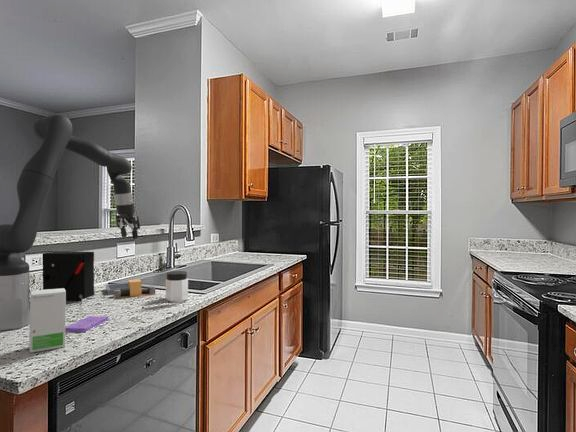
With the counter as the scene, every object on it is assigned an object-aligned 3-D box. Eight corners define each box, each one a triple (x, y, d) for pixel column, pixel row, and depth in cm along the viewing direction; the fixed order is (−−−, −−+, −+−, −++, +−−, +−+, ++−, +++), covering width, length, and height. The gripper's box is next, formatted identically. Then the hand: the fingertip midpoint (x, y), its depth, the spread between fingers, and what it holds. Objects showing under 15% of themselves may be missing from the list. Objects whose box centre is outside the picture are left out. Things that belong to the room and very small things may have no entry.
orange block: (141, 295, 152) (141, 281, 152) (130, 296, 150) (130, 282, 150) (139, 292, 157) (139, 279, 157) (128, 293, 154) (128, 280, 154)
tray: (137, 294, 159) (137, 286, 159) (108, 297, 153) (108, 289, 153) (133, 289, 169) (133, 282, 169) (105, 292, 163) (105, 284, 163)
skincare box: (29, 353, 93) (28, 295, 93) (29, 346, 98) (29, 290, 98) (66, 346, 98) (66, 290, 98) (65, 339, 103) (64, 286, 103)
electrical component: (97, 296, 154) (97, 251, 154) (81, 302, 144) (81, 254, 144) (60, 295, 156) (59, 250, 156) (41, 301, 146) (41, 253, 145)
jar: (188, 298, 152) (188, 270, 152) (187, 302, 144) (187, 273, 144) (166, 299, 150) (166, 271, 150) (164, 304, 142) (164, 274, 142)
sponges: (63, 333, 110) (63, 327, 110) (89, 320, 123) (89, 315, 122) (85, 333, 109) (85, 327, 109) (108, 321, 122) (108, 315, 122)
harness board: (152, 292, 162) (152, 284, 162) (156, 297, 153) (156, 288, 153) (112, 297, 153) (112, 288, 153) (115, 302, 145) (115, 293, 145)
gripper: (107, 204, 161) (113, 238, 164) (126, 205, 153) (131, 241, 156) (122, 201, 167) (128, 234, 170) (141, 202, 159) (146, 236, 162)
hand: (129, 237), depth 163 cm, fingers open, 8 cm apart
